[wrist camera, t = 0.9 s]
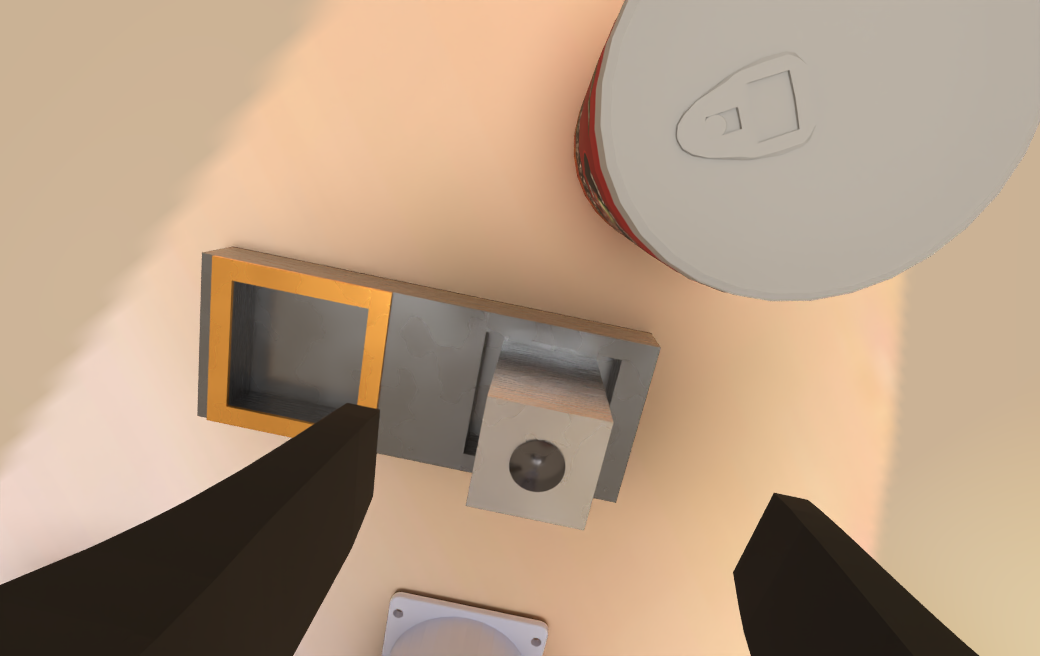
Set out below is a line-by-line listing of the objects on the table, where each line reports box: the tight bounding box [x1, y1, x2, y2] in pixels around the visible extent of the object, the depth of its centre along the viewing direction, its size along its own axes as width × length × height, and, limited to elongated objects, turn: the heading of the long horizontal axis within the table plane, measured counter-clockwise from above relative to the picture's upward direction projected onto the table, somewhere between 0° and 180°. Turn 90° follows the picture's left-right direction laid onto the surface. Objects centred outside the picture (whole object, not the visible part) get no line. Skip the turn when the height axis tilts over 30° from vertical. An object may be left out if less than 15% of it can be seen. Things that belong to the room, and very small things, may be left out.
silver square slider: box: [466, 341, 613, 530], centre depth 19 cm, size 4×4×6 cm
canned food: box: [574, 0, 1040, 301], centre depth 14 cm, size 8×8×11 cm
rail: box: [198, 247, 660, 503], centre depth 22 cm, size 7×18×2 cm, turn 79°
